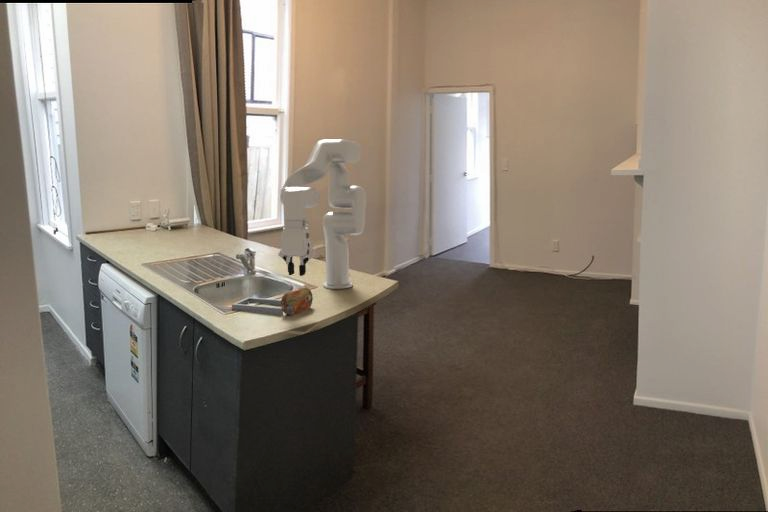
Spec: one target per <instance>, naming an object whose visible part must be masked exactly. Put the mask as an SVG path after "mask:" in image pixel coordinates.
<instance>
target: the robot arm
mask: <svg viewBox="0 0 768 512" xmlns="http://www.w3.org/2000/svg"><path fill="white" fill-rule="evenodd" d="M362 152H363V151H362V148H361V145H360V144H359V142H357V141H353V140H348V139H321V140H319V141H317V142H316V143H315V144H314V146H313V148H312V151H311V153H310V155H309V157H308V158H307V159H308V160H307V161H306V164H305V165H304V166H301V167H300V168H298V169H297V170H296V171H294V172H293V173H292V174H290V175H289V176H288V177H287V178H286V180H285V181H284V184H283V186H282V188H281V191H280V195H279V199H280V203H281V204H282V206H283V227H282V232H281V236H280V237H281V240H280V244H281V245H280V251H279V252H278V256H279V257H280V258H281V259H282V260H284V261H285V263H286V265H287V272H288V276H293V275H294V274H295V263H294V261H293V259H294V257H299V262H300V263H299V264H300V265H299V266H298V269H299V270H298V272H299V273H298V275H299V276H300V277H302V276H305V274H306V272H307V269H306V268H307V267H306V264H307V263H308V262H309V261H310V260H311V259H313V258H314V257H315V254H314V253H313V251H312V241H311V237H310V231H309V228H308V227H307V226H309V225H310V223H309V221H307V219H306V209H312V208H315V207H317V206H318V204H319V203H320V200H321V194H320V192H319V190H318V189H316V188H314V187H309V186H307V185H309V184H310V185H311V184H313V183H316V182H319V181H320V180H323V179H324V178H325V177H327V176H326V175H327V173H328V189H327V190H328V191H327V202H328V206H330V207H331V208H334V209H347V210H348V209H350V210H352V211H337V210H333V211H329V212H327V213H325V214H324V215H323V217H322V227H323V228H322V229H323V233H324V240H325V241H324V242H325V270H326V271H325V275H326V276H325V277H326V278H325V280H326V281H325V282H323V283H322V287H323V288H325V289H331V290H341V289H349V288H352V287H353V281H350V277H351V274H350V270H349V269H350V268H349V266H350V265H349V264H350V263H349V257H350V256H349V243H348V240H347V239H346V238H345V236H360V235H361V234H362V233H363V232H364V230H365V226H366V225H365V223H366V208H367V205H366V204H367V195H366V191H365V189H364V188H363V187H362V186H359V185H350V172H349V170H348V168H347V166H345V164H347V163H348V164H356V163H358V162H359V161H360V160H361V158H362ZM344 163H345V164H344ZM306 186H307V187H306Z"/></svg>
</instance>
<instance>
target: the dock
mask: <svg viewBox="0 0 768 512" xmlns="http://www.w3.org/2000/svg"><path fill="white" fill-rule="evenodd" d="M281 300H282V299H276V298H274V299H273V298H262V297H261V298H260V297H250V296H249V297H248V296H247V297H246V298H243V299H241V300H239V301H236V302H234V303H232V304H231V309H232V310H236V311H244V312H252V313H259V314H268V315H269V314H270V315H276V316H283V314H284V312H283V311H282V307H278V306H281ZM257 302H259V303H257ZM248 303H257V304H263V305H264V306H263V305H255V304H253V305H252V304H248ZM265 304H266V305H265ZM268 305H273V306H268Z"/></svg>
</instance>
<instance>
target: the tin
mask: <svg viewBox="0 0 768 512" xmlns="http://www.w3.org/2000/svg"><path fill="white" fill-rule="evenodd" d="M280 300H281V307H280V308H282V311H283V314H285V315H290V316H294V315H295V316H296V315H297V314H299V313H303V312H304V311H307V310H309V309H310V308H311V307H312V304H313V300H314V299H313V294H312V290H311V289H310V288H308V287H299V288H296V289H293V290H290V291H287V292H285V293H284V294H283V296H282V297H281V299H280Z"/></svg>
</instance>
